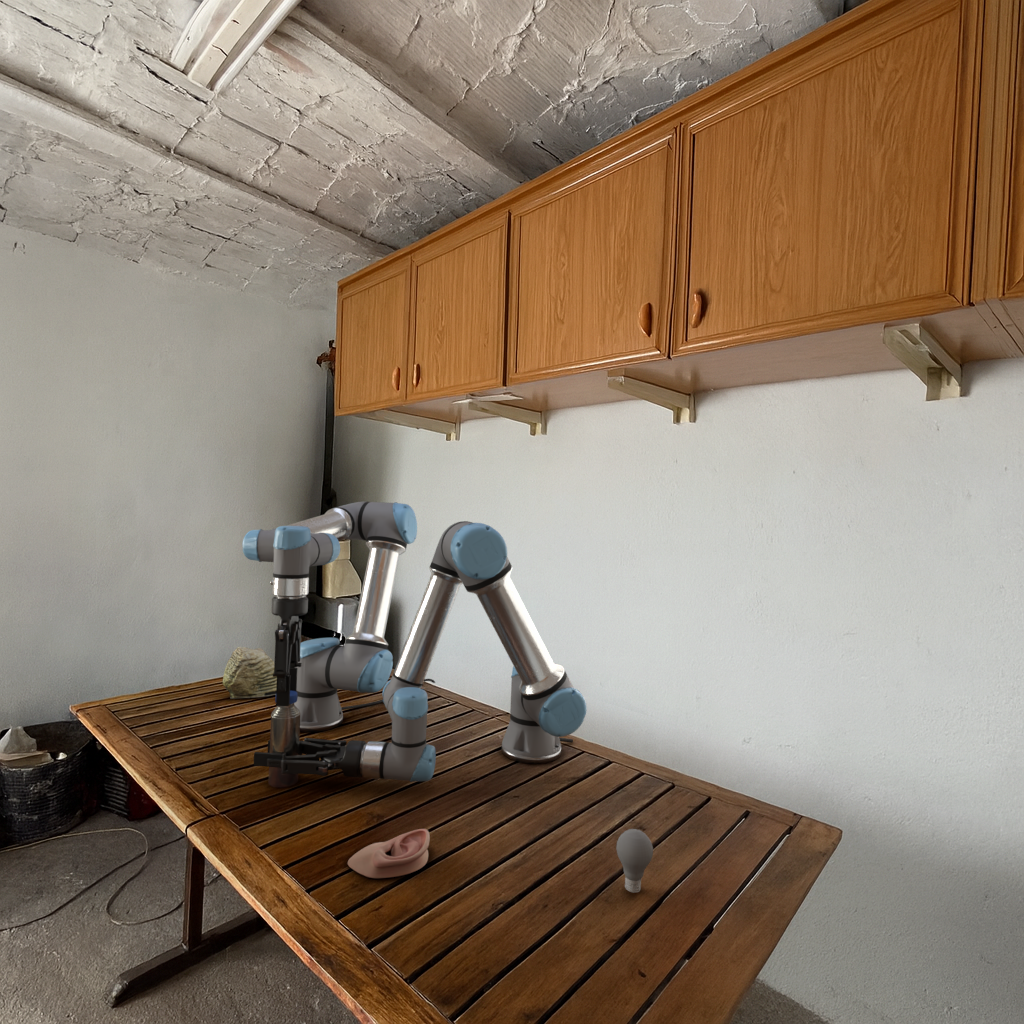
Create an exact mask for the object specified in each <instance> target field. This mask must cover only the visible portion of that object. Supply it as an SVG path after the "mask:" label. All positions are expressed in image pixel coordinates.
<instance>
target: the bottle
mask: <svg viewBox="0 0 1024 1024" xmlns="http://www.w3.org/2000/svg"><path fill="white" fill-rule="evenodd" d="M300 735H301V731H300V710H299V709H298V708H297V707H296V706H295V705H294V703H292V704H290V705H289V706H275V708H274V709H273V711H272V712H271V714H270V732H269V740H270V753H280V754H283V753H286V756H295V755H299V741H301V739H300V738H301V736H300ZM298 781H299V774H288V773H282V768H280V767H268V785H269V786H270V787H273V788H287V787H291V786H293V785H296V784H297V783H298Z"/></svg>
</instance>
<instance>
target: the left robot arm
mask: <svg viewBox="0 0 1024 1024" xmlns="http://www.w3.org/2000/svg"><path fill="white" fill-rule="evenodd" d="M417 535H418V520H417V516H416V513H415V511H414V509H413V508H412V507H411V506H410V505H409V504H407V503H400V502H383V501H382V502H381V501H366V500H365V501H356V502H351V503H348V504H347V503H346V504H343V505H340V506H336V507H333V508H330V509H328V510H327V511H326V512H325V513H324V514H321V515H318V516H314V517H311V518H307V519H304V520H300V521H297V522H293V523H289V524H286V525H279V526H277V527H276V528H272V529H262V528H260V529H251V530H249V531H248V532H247V533H246V534H245V535H244V537H243V539H242V553H243V555H244V556H245V558H246V559H247V560H249V561H255V562H259V563H263V562H266V563H273V573H272V580H270V582H269V583H270V585H271V586H272V595H273V597H272V598H271V614H272V615H274V616H277V617H279V618H280V619H279V622H278V623H277V629H274V630H275V631H274V640H275V641H274V642H275V644H274V673H273V676H277V687H276V695H275V696H276V702H275V707H277V706H289V705H290V691H296V692H297V695H298V699H297V702H295V703H294V705H295V706H296V707H297V708H298V709H299V710H300V733H316V732H325V731H329V730H332V729H335V728H337V727H339V726H340V725H342V723H343V722H344V714H343V711H344V710H350V709H357V708H364V707H369V706H374V705H378V704H382V703H384V702H383V699H380V700H376V701H372V702H366V703H362V704H361V703H360V704H355V705H348V706H341V702H340V699H339V695H338V690H342V691H350V692H358V693H362V694H364V693H369V694H374V693H378V692H380V691H381V690H383V688H384V686H385V685H386V683H387V682H388V681H389V679H390V676H391V673H392V670H393V665H394V661H393V659H394V657H393V653H392V652H391V651H390V650H389V649H388V647H389V643H388V642H387V640H386V639H385V634H386V629H387V623H388V618H389V613H390V608H391V602H392V597H393V593H394V587H395V582H396V577H397V571H398V565H399V561H400V556H401V555H403V554H404V553H405V552H406V551H407V546H408V545H410V544H414V542H415V540H416V539H417ZM345 540H356V541H366V542H365V545H366V547H367V548H368V550H369V553H368V557H367V563H366V569H365V573H364V577H363V582H362V586H361V587H362V589H361V591H360V595H359V602H358V607H357V611H356V616H355V621H354V625H353V630H352V633H351V634H350V635H348V636H347V637H346V638H345V642H344V645H341V641H340V639H339V638H338V637H318V638H313V639H307V640H304V641H302V623H303V620H302V618H299V617H301V616H304V615H307V613H308V609H309V598H308V597H307V595H309V594H310V593H309V592H310V591H309V587H310V567H316V566H325V565H328V564H331V563H333V562H335V561H336V560H337V559H338V557H339V555H340V552H341V544H340V542H341V541H345ZM301 641H302V642H301ZM424 682H425V683H426V682H431V683H433V684H435V683H436V681H435V680H434V679H432V678H425V679H424ZM424 682H423V683H424Z"/></svg>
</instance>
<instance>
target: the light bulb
mask: <svg viewBox="0 0 1024 1024" xmlns="http://www.w3.org/2000/svg"><path fill="white" fill-rule="evenodd" d="M615 849H616V854H617V857H618V859H619V861H620V863H621V865H622V867H623V873H624V874H623V875H624V876H625V878H624V888H625V890H627V891H628V892H630V893H634V894H635V893H639V892H640V891H641V889H642V887H641V886H642V879H643V877H644V875H645V871H646V868H647V867H648V866H649V864H650V863H651V861H652V859H653V855H654V847H653V843H652V841H651V838H649V836H648V835H647V834H646V833H645V832H643V831H642V830H641V829H636V828H629V829H627V830H625V831H623V832H622V833H621V834H620V835H619V837H618V839H617V841H616V847H615Z"/></svg>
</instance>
